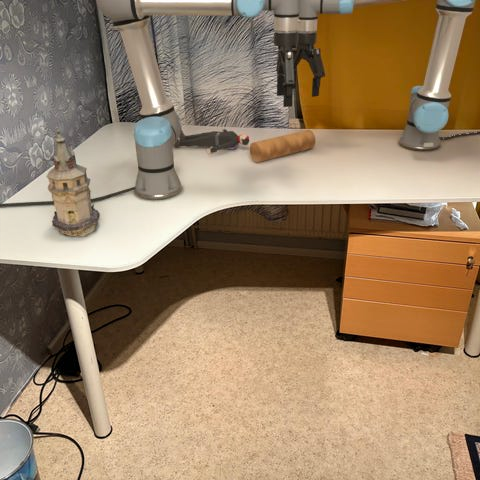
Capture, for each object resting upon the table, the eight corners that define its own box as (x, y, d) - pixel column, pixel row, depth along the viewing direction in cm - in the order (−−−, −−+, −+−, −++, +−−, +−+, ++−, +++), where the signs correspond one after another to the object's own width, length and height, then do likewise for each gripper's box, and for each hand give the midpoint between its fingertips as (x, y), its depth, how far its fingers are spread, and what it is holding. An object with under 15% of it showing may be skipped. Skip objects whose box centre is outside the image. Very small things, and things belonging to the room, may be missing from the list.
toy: (185, 122, 227) (254, 122, 220) (186, 136, 230) (255, 137, 224) (165, 142, 205) (242, 143, 198) (167, 157, 208) (243, 159, 201)
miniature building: (80, 214, 164) (63, 117, 149) (111, 225, 157) (96, 125, 142) (44, 231, 154) (22, 130, 140) (75, 244, 147) (55, 139, 133)
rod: (260, 165, 198) (260, 145, 194) (249, 159, 203) (249, 140, 199) (315, 150, 210) (316, 132, 206) (303, 145, 215) (303, 127, 211)
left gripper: (306, 37, 153) (303, 111, 164) (291, 25, 175) (289, 90, 185) (280, 38, 153) (278, 112, 163) (268, 26, 174) (267, 91, 185)
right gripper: (338, 35, 182) (333, 97, 192) (292, 26, 200) (290, 84, 210) (321, 37, 178) (317, 101, 188) (276, 28, 196) (275, 87, 207)
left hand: (284, 100), depth 174 cm, fingers open, 13 cm apart
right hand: (303, 92), depth 199 cm, fingers open, 13 cm apart
